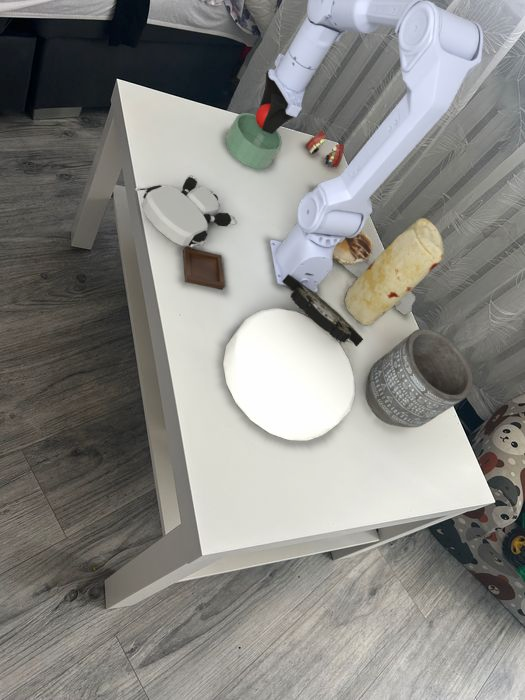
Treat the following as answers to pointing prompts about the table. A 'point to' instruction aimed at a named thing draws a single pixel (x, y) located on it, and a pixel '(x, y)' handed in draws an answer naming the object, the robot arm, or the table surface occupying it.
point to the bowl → (252, 142)
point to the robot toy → (184, 212)
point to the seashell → (353, 249)
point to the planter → (418, 380)
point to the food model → (395, 272)
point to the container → (289, 374)
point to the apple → (262, 114)
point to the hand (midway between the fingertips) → (265, 122)
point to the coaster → (203, 268)
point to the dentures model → (333, 157)
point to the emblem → (321, 312)
